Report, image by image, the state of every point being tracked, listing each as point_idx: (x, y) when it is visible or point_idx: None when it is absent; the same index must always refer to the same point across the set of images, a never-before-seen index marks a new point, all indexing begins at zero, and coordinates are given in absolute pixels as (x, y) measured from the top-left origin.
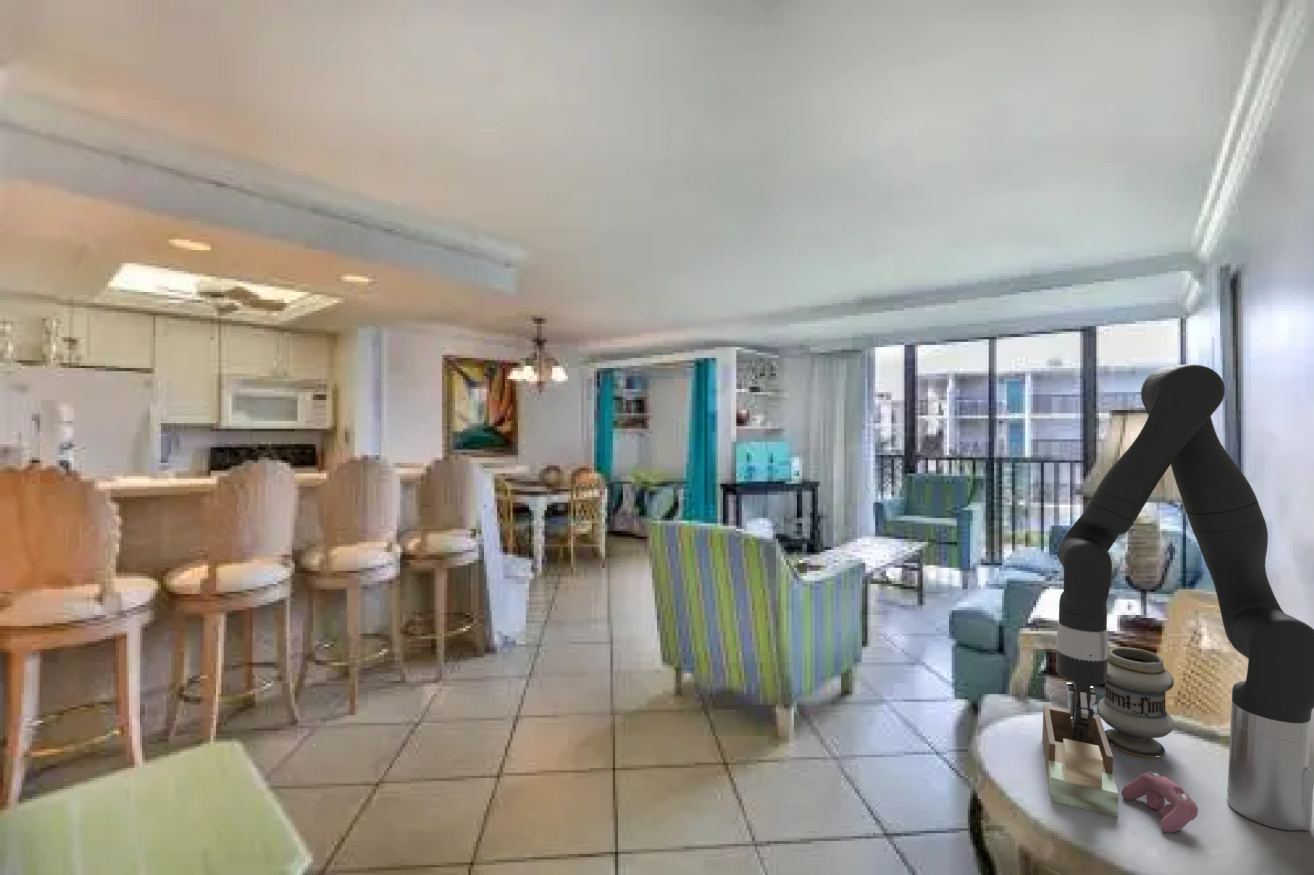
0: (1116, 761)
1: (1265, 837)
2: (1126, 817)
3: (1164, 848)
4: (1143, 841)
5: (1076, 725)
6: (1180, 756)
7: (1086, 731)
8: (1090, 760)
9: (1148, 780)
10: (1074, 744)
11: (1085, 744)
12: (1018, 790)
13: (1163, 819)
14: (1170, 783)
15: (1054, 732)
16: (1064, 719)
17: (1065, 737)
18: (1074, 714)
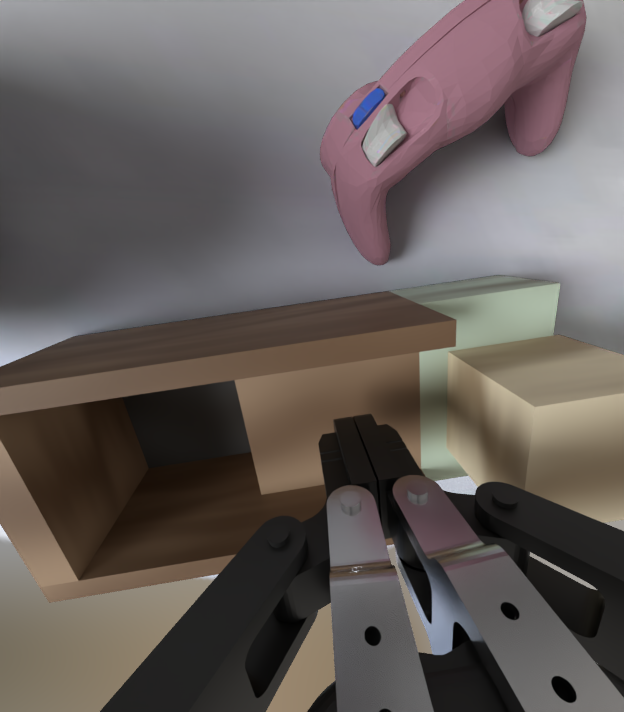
0: (106, 279)
1: None
2: (484, 252)
3: (611, 154)
4: (594, 210)
5: (542, 566)
6: None
7: (397, 472)
8: None
9: (415, 166)
10: (566, 495)
11: (546, 458)
12: (472, 482)
13: (553, 137)
14: (507, 46)
15: (125, 480)
16: (78, 501)
17: (118, 444)
18: (620, 672)
